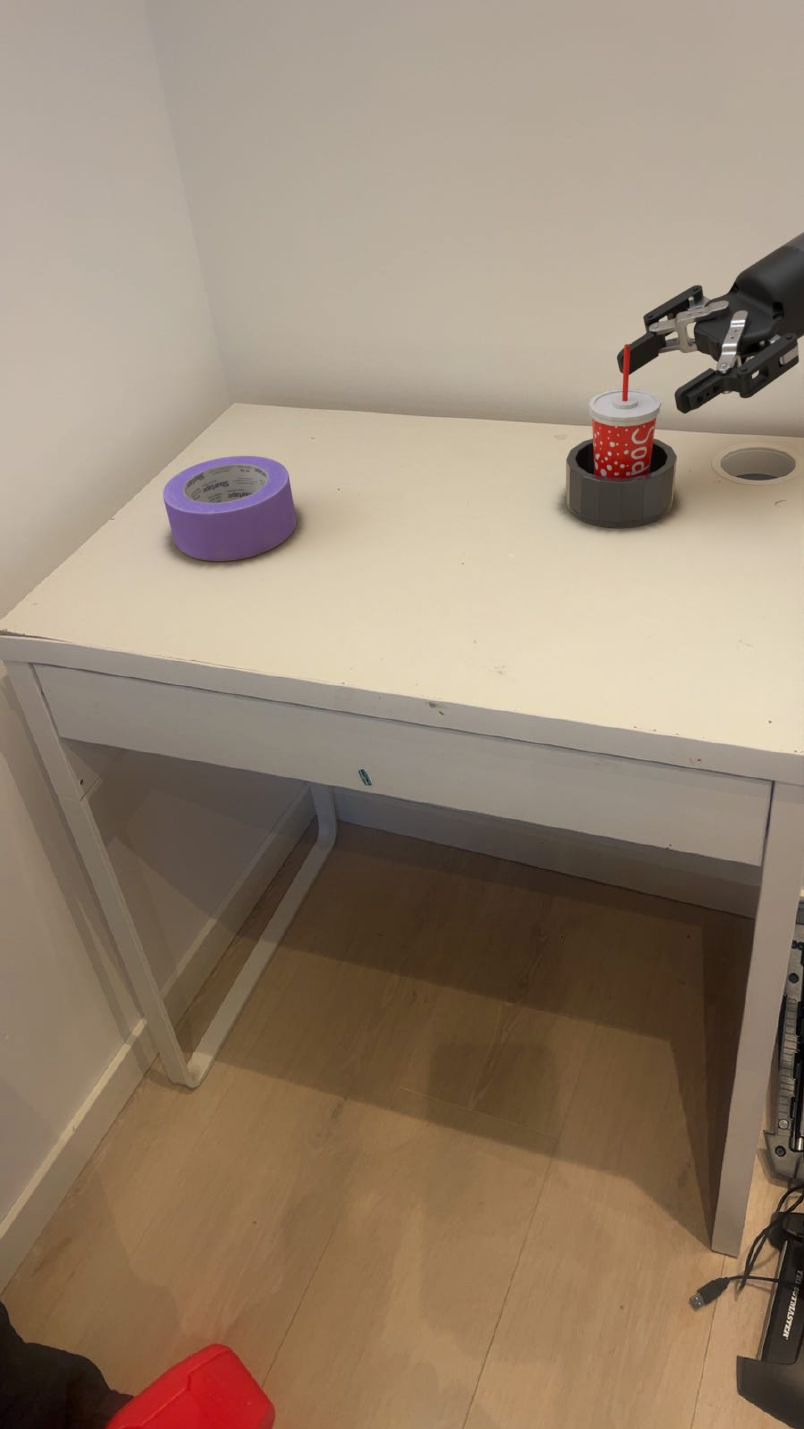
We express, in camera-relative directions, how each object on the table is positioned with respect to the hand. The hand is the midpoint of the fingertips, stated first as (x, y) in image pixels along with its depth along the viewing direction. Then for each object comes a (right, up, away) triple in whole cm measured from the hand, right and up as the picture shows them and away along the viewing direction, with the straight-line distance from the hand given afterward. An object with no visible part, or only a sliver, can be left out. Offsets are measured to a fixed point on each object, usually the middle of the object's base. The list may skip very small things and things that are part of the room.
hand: (648, 384), depth 90 cm
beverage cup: (-1, -8, +6) cm, 11 cm away
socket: (-1, -9, +6) cm, 11 cm away
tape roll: (-37, -11, +9) cm, 40 cm away
